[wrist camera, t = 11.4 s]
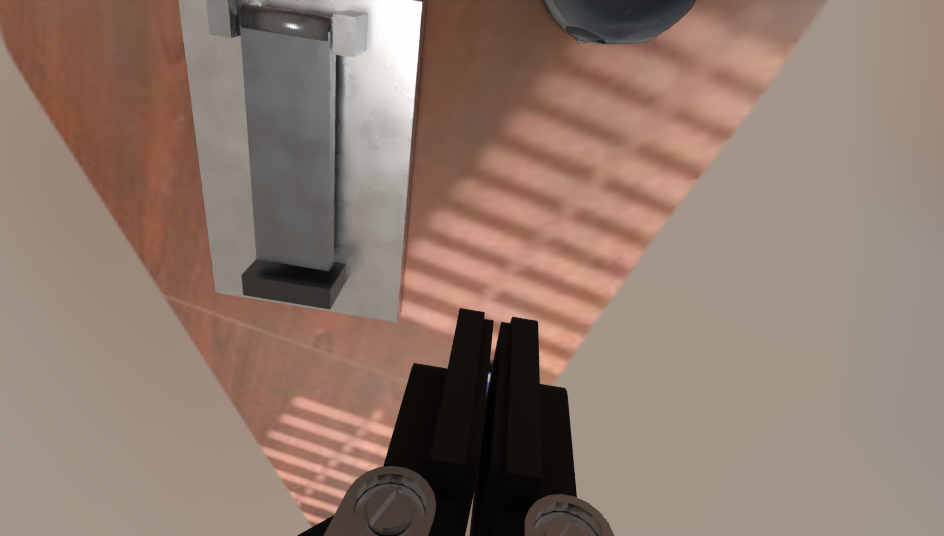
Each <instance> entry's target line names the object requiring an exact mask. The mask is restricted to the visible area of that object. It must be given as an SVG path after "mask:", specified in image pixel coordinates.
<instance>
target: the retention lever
mask: <svg viewBox="0 0 944 536" xmlns="http://www.w3.org/2000/svg"><path fill="white" fill-rule="evenodd" d="M239 20H240V34H241V48H242V62H243V77H244V91H245V105H246V119H247V133H248V147H249V161H250V175H251V189H252V203H253V218H254V232H255V246H256V259H258V260H264V261H270V262H276V263H282V264H288V265H294V266H300V267H307V268H313V269H319V270H325V271H329V270H330V269H331V267H332V266H333V264H334V184H335V83H336V55H335V54H333V17H328V16H322V15H315V14H309V13H303V12H296V11H290V10H284V9H277V8H271V7H265V6H258V5H252V4H246V3H244V4H242V6H241V8H240V13H239Z"/></svg>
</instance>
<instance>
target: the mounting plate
mask: <svg viewBox="0 0 944 536" xmlns="http://www.w3.org/2000/svg"><path fill="white" fill-rule="evenodd" d="M178 1H179V9H180V17H181V24H182V32H183V40H184V48H185V56H186V63H187V71H188V79H189V87H190V95H191V102H192V110H193V118H194V126H195V134H196V141H197V149H198V157H199V165H200V173H201V181H202V188H203V196H204V204H205V212H206V220H207V227H208V235H209V243H210V251H211V259H212V266H213V274H214V282H215V290H216V293H222V294H228V295H234V296H240V297H246V298H252V299H258V300H264V301H270V302H276V303H282V304H288V305H294V306H300V307H307V308H313V309H319V310H325V311H331V312H337V313H343V314H349V315H355V316H361V317H367V318H373V319H379V320H385V321H392V322H397V321H398V318H399V315H400V313H401V305H402V293H403V281H404V269H405V257H406V244H407V232H408V220H409V208H410V196H411V183H412V171H413V159H414V147H415V135H416V122H417V110H418V98H419V86H420V74H421V61H422V49H423V37H424V25H425V12H426V0H178ZM244 3H246V4H252V5H258V6H265V7H271V8H277V9H284V10H290V11H296V12H303V13H309V14H315V15H322V16H328V17H333V54H335V55H336V83H335V184H334V264H333V266H332V267H331V269H330V270H329V271H325V270H319V269H313V268H307V267H300V266H294V265H288V264H282V263H276V262H270V261H264V260H258V259H256V246H255V232H254V218H253V203H252V189H251V175H250V161H249V147H248V133H247V119H246V105H245V91H244V77H243V62H242V48H241V34H240V20H239V13H240V8H241V6H242V4H244Z"/></svg>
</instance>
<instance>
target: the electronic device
mask: <svg viewBox="0 0 944 536" xmlns="http://www.w3.org/2000/svg"><path fill="white" fill-rule="evenodd" d="M543 1H544V3H545V5H546V7H547V9H548V10H549V12H550V14H551V15H552V16H553V18H554V19H555V21H556V22H557V23H558V24H559V25H560V26H561V27H562V28H563V29H564V30H565V31H567V32H568V33H569V34H571V35H572V36H574V37H576V38H577V41H578V43H586V42H592V43H602V44H631V43H642V42H646V41H650V40H652V39H653V38H654V37H656V36H658V35H659V34H661V33H662V32H664V31H666V30H667V29H669V28H670V27H671V26H673V25H674V24H675V23H676V22H678V21H679V20H680V19H681V18H682V17H683V16H684V15H685V14H686V13H687V12H688V11H689V10H690V9H691V8H692V7H693V5H694V3H695V1H696V0H543Z"/></svg>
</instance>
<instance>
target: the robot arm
mask: <svg viewBox="0 0 944 536" xmlns="http://www.w3.org/2000/svg"><path fill="white" fill-rule="evenodd" d="M484 314H485V312H480V311H474V310H468V309H462V308H460V310H459V315H458V320H457V325H456V330H455V335H454V340H453V345H452V350H451V355H450V360H449V365H448V369H447V368H441V367H435V366H429V365H423V364H417V363H414V364H413V366H412V369H411V372H410V376H409V379H408V383H407V386H406V390H405V393H404V397H403V400H402V404H401V407H400V411H399V414H398V418H397V421H396V424H395V428H394V431H393V435H392V438H391V442H390V445H389V449H388V452H387V456H386V459H385V463H384V466H383V467H379V468H376V469H373V470H371V471H368V472H366V473H364V474H363V475H362V476H360V477H359V478H358V479H356V480H355V481H354V483H353V484H352V485H351V487H350V488H349V489H348V491H347V492H346V494H345V496H344V498H343V500H342V502H341V504H340V506H339V507H338V509H337V511H336V513H335V515H333V516H332V517H330V518H328V519H326V520H324V521H323V522H321V523H319V524H317V525H315V526H314V527H312V528H310V529H308V530H307V531H305V532H303V533H301V534H299V535H298V536H465V533H466V528H467V523H468V519H469V514H470V509H471V504H472V500H473V508H472V517H471V527H470V536H614V534H613V532H612V530H611V528H610V525H609V523H608V522H607V521H606V519H605V518H604V517H603V516H602V514H601V513H600V512H599V511H598V510H597V509H595V508H594V507H593V506H591V505H590V504H589V503H587V502H585V501H583V500H581V499H579V498H577V494H576V483H575V472H574V461H573V450H572V439H571V427H570V417H569V407H568V395H567V390H566V389H565V388H561V387H556V386H550V385H543V384H540V376H539V339H538V321H535V320H529V319H523V318H517V317H512V319H511V323H505V322H501V325H500V330H499V335H498V340H497V345H496V350H495V355H494V360H493V365H492V370H491V375H490V380H489V385H488V390H487V384H488V374H489V363H490V353H491V343H492V333H493V322H494V321H493V320H487V319H484ZM486 394H487V395H486ZM473 495H474V498H473Z"/></svg>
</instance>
